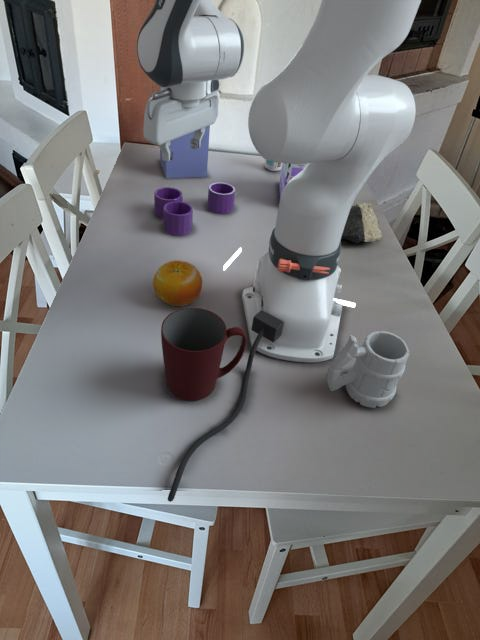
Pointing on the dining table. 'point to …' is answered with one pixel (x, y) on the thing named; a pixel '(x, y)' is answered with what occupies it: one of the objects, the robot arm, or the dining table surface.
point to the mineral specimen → (362, 224)
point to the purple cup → (165, 199)
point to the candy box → (289, 173)
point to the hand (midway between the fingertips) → (181, 153)
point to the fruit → (177, 283)
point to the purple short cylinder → (221, 198)
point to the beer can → (273, 165)
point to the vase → (187, 157)
